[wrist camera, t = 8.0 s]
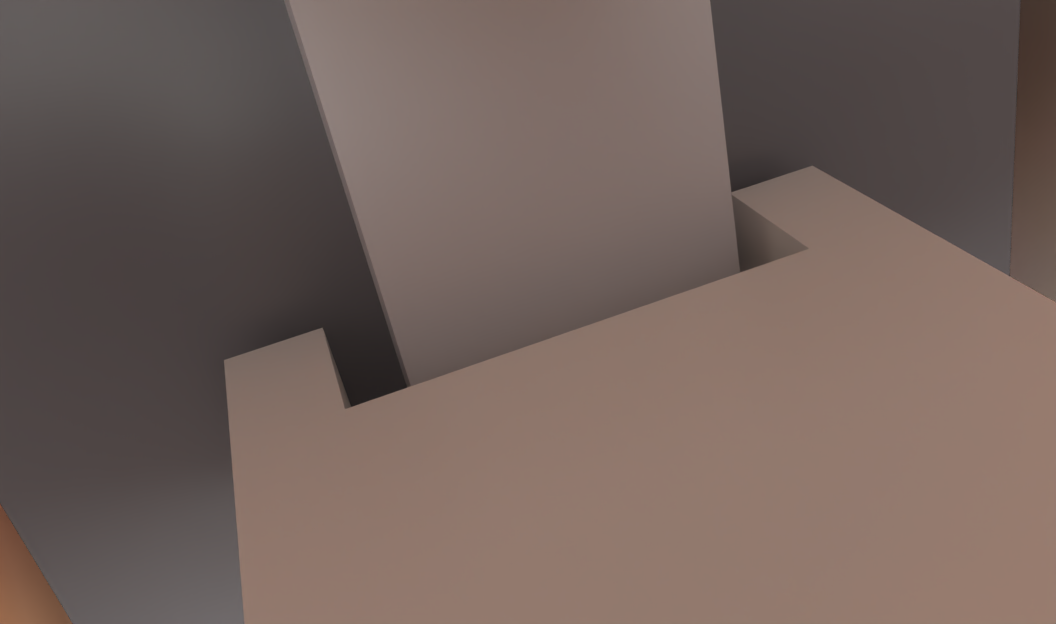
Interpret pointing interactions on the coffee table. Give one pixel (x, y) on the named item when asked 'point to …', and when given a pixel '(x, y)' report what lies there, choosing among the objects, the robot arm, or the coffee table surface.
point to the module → (683, 451)
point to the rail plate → (404, 212)
